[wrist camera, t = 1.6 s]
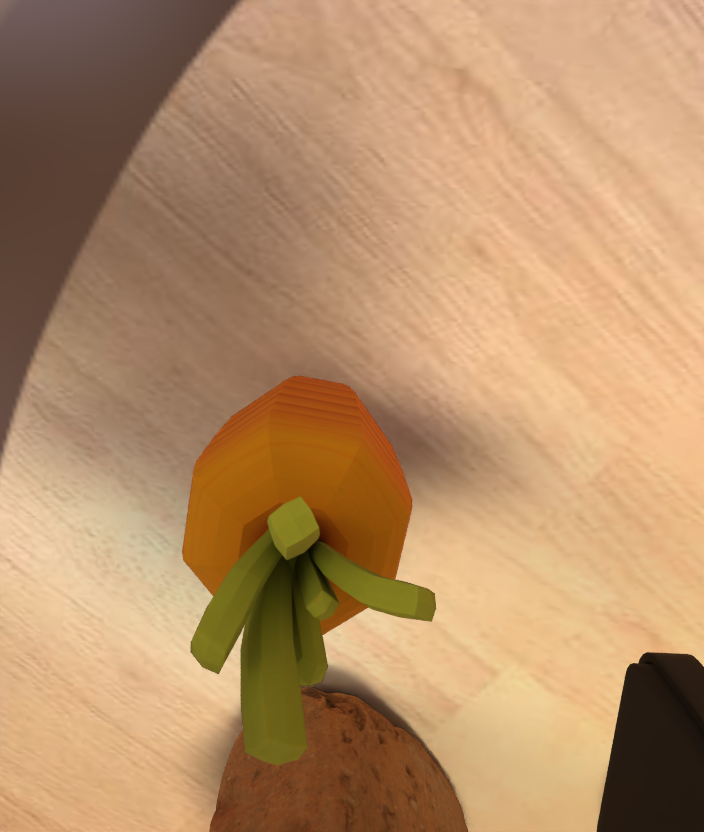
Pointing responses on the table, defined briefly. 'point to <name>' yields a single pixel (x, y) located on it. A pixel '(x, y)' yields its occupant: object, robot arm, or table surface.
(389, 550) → the carrot
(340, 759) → the brown rock
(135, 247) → the table surface
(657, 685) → the robot arm
